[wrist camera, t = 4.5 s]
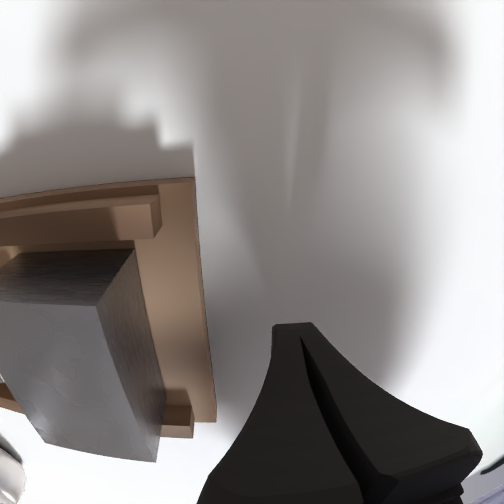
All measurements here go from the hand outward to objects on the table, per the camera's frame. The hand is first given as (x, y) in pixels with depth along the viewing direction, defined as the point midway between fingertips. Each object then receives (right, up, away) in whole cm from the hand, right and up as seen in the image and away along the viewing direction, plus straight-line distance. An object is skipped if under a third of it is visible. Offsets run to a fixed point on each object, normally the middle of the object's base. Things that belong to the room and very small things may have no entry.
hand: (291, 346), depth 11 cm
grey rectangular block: (-8, 0, 0) cm, 8 cm away
